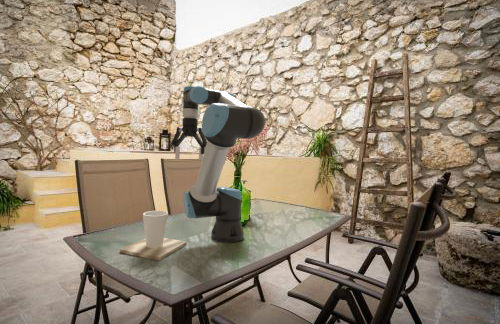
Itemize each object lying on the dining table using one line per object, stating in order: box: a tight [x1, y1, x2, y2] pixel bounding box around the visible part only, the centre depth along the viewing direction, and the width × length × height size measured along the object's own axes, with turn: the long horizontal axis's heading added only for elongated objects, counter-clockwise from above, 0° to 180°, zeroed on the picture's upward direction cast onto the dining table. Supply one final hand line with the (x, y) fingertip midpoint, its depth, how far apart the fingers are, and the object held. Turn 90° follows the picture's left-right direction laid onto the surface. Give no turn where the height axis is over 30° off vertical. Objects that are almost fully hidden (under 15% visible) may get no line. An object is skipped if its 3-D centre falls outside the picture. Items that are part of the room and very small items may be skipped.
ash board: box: [119, 237, 188, 261], centre depth 108 cm, size 18×18×1 cm
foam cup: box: [142, 210, 169, 248], centre depth 107 cm, size 10×9×13 cm
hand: (188, 160), depth 136 cm, fingers open, 13 cm apart
